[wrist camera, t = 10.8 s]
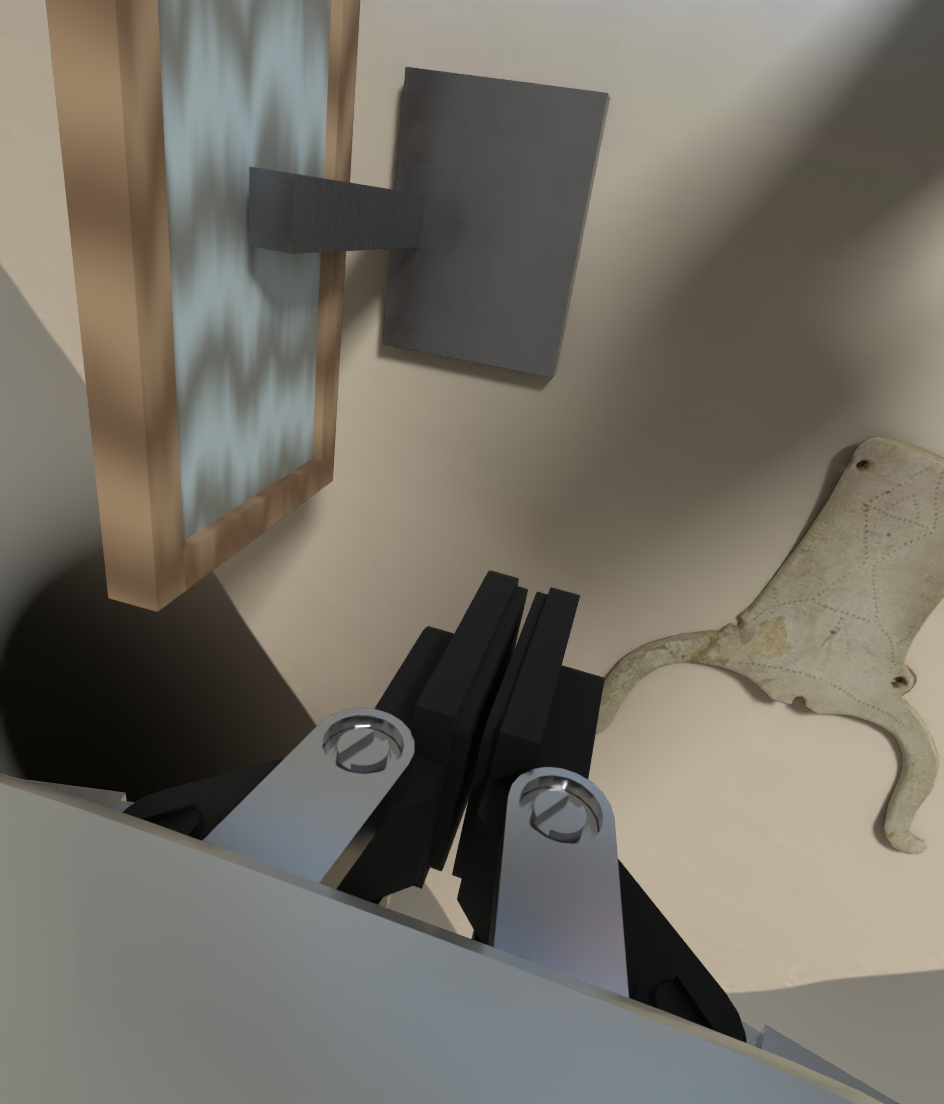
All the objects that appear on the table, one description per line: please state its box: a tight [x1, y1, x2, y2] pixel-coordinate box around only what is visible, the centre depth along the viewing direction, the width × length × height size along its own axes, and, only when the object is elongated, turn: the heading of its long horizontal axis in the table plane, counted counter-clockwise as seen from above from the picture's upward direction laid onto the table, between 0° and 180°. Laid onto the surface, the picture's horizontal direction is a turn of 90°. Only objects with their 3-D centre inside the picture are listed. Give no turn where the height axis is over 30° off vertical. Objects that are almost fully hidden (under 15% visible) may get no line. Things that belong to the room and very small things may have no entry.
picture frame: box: [46, 0, 360, 612], centre depth 31 cm, size 32×3×18 cm, turn 172°
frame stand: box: [249, 67, 610, 378], centre depth 36 cm, size 16×12×19 cm
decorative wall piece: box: [596, 437, 944, 854], centre depth 50 cm, size 30×3×30 cm
